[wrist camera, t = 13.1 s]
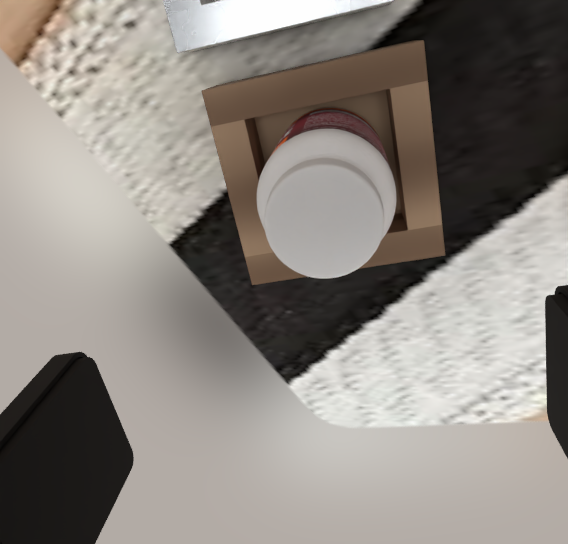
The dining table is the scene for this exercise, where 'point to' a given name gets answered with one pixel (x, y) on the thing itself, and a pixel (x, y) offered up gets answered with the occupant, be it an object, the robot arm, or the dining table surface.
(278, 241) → the pill bottle
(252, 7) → the socket block
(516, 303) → the dining table surface
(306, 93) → the tray
